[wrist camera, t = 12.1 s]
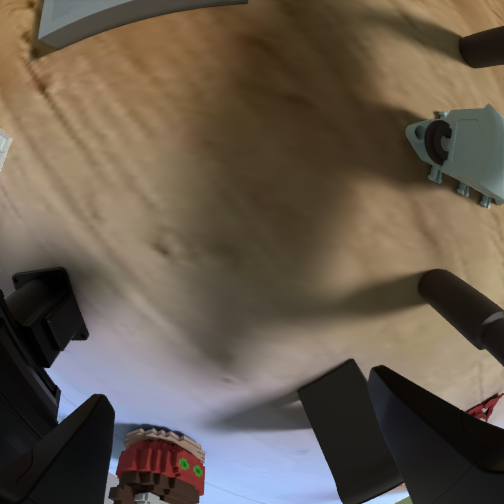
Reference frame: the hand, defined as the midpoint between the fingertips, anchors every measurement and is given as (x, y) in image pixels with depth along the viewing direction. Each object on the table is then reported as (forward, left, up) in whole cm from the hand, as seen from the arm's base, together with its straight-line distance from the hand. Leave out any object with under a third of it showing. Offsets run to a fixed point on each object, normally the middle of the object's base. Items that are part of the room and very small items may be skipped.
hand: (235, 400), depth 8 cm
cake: (-11, -22, -12) cm, 27 cm away
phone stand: (+9, -16, -12) cm, 22 cm away
